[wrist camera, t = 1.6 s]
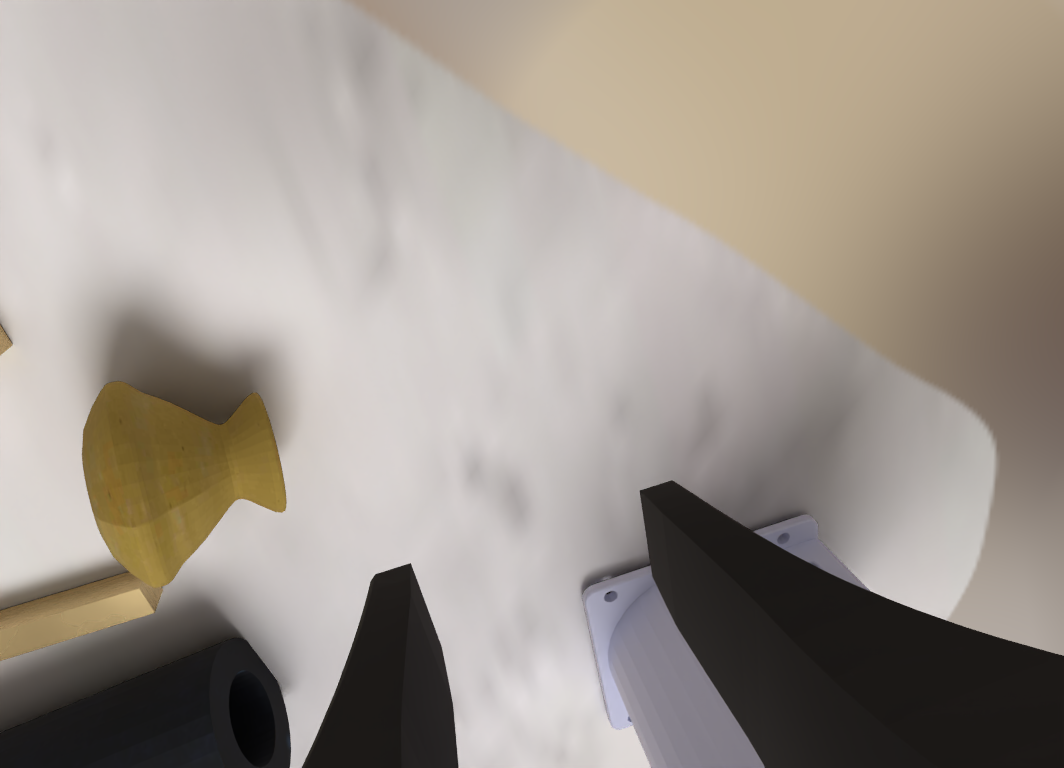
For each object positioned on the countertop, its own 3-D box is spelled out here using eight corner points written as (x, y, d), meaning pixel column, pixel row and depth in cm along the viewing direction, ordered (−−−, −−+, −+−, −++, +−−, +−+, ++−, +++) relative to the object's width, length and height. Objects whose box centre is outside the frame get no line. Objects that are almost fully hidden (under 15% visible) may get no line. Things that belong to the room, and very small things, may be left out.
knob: (136, 516, 20) (74, 646, 15) (90, 353, 17) (1, 450, 13) (304, 496, 21) (292, 612, 16) (280, 340, 18) (258, 425, 14)
